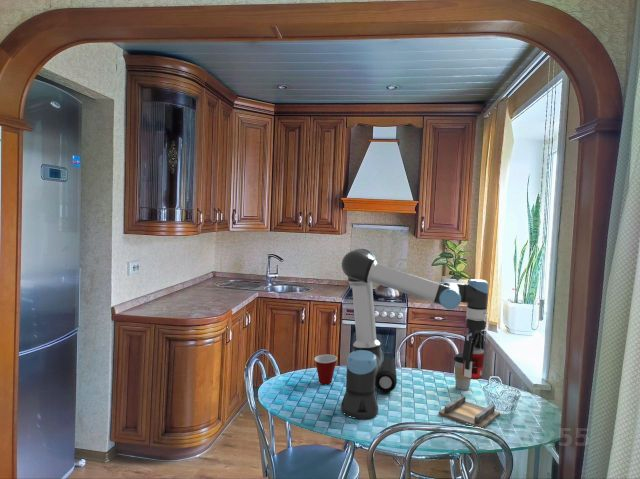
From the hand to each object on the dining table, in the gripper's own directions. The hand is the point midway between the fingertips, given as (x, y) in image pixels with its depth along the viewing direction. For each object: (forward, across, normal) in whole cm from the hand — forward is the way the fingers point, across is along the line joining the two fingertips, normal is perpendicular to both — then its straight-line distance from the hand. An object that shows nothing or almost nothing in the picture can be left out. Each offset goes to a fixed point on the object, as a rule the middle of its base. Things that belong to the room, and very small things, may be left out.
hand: (472, 374), depth 189 cm
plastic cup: (+18, -17, +63) cm, 68 cm away
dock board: (+17, 0, 0) cm, 17 cm away
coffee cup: (+17, +26, +15) cm, 35 cm away
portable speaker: (+18, +3, +43) cm, 47 cm away
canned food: (+1, 0, 0) cm, 1 cm away
